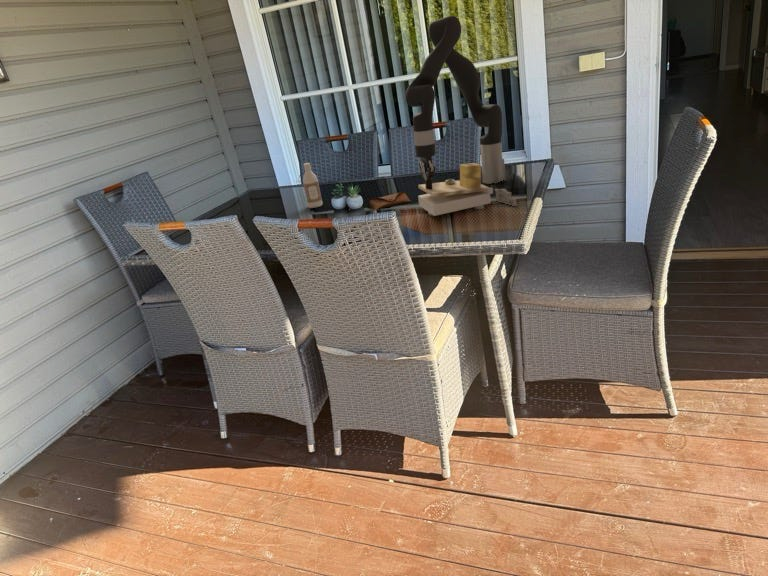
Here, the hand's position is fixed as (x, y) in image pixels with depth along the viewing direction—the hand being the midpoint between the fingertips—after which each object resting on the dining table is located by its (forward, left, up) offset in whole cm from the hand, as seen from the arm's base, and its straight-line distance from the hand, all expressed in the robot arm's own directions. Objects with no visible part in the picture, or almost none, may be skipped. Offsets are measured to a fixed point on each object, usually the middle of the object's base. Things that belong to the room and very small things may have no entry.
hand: (429, 188), depth 197 cm
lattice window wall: (-27, +8, -10) cm, 30 cm away
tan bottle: (+40, -53, -10) cm, 67 cm away
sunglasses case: (+10, -28, -11) cm, 31 cm away
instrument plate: (-10, 0, -2) cm, 10 cm away
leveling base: (-9, 0, -10) cm, 14 cm away
